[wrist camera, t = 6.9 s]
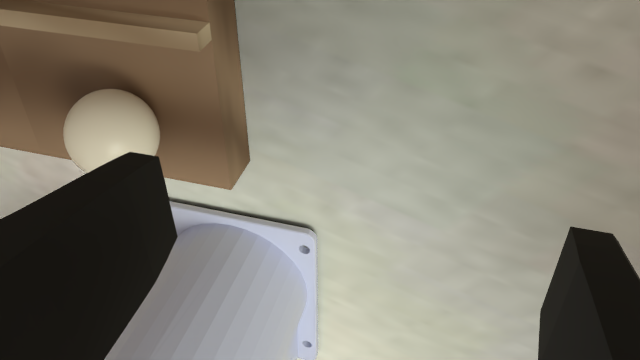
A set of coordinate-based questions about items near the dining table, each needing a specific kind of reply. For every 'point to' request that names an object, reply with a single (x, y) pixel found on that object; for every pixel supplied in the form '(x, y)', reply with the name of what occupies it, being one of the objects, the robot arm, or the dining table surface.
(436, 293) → the dining table surface
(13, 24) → the hole plate
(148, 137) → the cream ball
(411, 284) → the dining table surface
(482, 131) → the dining table surface
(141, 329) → the robot arm
